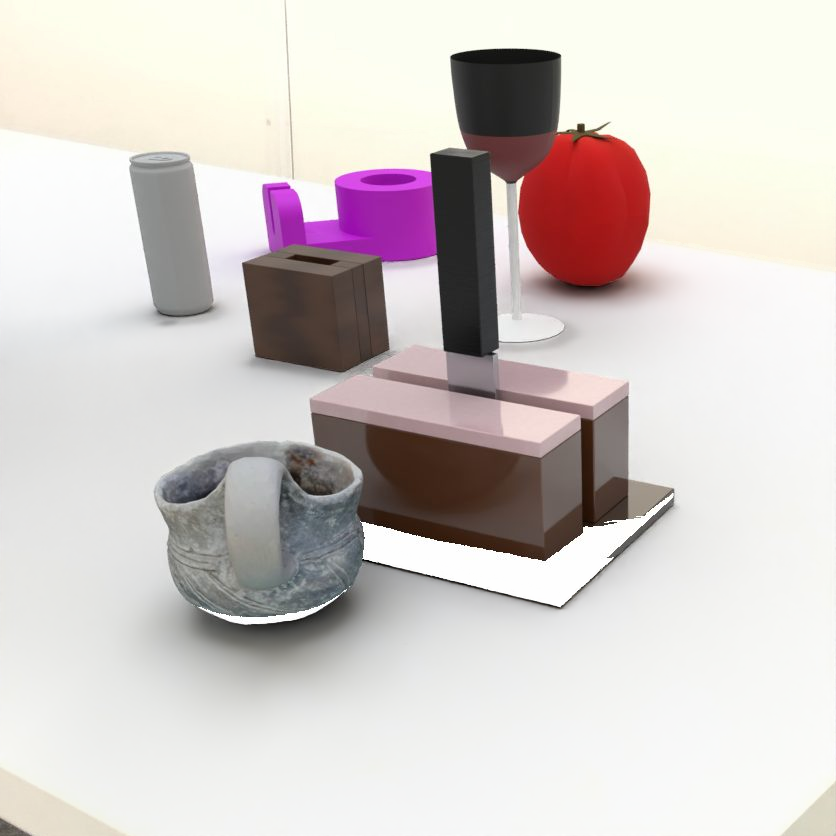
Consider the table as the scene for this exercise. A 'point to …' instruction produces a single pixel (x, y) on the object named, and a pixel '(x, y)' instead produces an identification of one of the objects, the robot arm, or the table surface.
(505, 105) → the wineglass
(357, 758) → the table surface
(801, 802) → the table surface
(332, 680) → the table surface
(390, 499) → the cake
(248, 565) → the mug
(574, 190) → the tomato
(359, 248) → the tape dispenser
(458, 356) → the knife
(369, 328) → the knife block
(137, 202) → the beverage can
